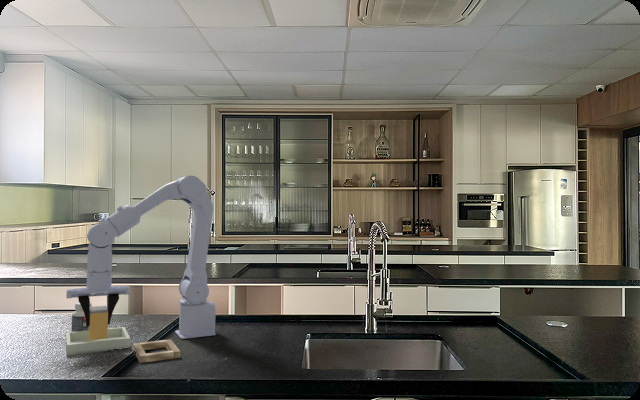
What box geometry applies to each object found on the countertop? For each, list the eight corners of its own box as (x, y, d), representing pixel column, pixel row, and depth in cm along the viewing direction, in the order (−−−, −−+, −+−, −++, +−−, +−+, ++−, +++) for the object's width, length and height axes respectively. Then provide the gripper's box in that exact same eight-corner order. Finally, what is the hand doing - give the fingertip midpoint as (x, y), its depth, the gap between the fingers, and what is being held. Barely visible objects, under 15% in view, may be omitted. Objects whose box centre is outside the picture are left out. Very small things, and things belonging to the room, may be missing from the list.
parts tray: (124, 336, 128) (124, 326, 128) (130, 348, 117) (130, 338, 117) (65, 342, 121) (66, 332, 121) (66, 355, 111) (66, 345, 111)
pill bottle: (84, 339, 124) (85, 305, 124) (66, 337, 125) (67, 304, 125) (97, 334, 129) (98, 301, 130) (80, 332, 131) (81, 300, 131)
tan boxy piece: (105, 332, 123) (106, 305, 123) (107, 338, 118) (108, 310, 118) (88, 334, 121) (89, 306, 121) (89, 340, 116) (90, 311, 116)
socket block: (170, 345, 121) (170, 339, 121) (180, 357, 111) (180, 351, 111) (133, 349, 116) (133, 343, 116) (139, 363, 107) (139, 356, 107)
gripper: (67, 274, 112) (65, 331, 112) (132, 271, 120) (130, 325, 119) (67, 270, 119) (65, 324, 118) (128, 268, 126) (127, 319, 125)
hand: (97, 324), depth 119 cm, fingers closed on tan boxy piece, 4 cm apart
